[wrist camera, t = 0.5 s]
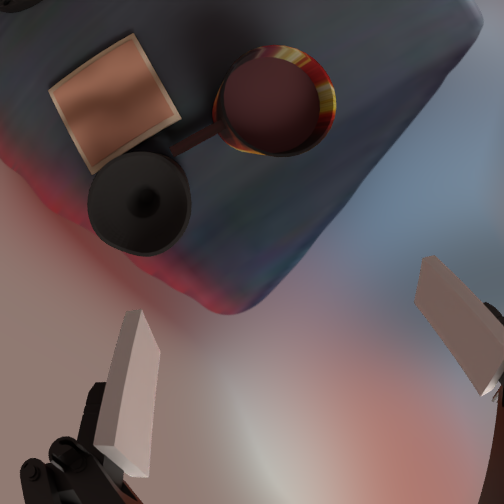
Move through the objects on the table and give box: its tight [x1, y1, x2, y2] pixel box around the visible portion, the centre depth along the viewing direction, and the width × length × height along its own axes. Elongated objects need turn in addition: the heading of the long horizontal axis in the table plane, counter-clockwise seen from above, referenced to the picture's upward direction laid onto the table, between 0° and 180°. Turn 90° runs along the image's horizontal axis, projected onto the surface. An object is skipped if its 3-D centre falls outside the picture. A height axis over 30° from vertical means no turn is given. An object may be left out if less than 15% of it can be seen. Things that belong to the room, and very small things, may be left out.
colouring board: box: [48, 33, 182, 175], centre depth 30 cm, size 12×12×1 cm
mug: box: [169, 45, 336, 157], centre depth 29 cm, size 10×14×12 cm
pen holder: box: [87, 151, 191, 257], centre depth 30 cm, size 9×9×10 cm
